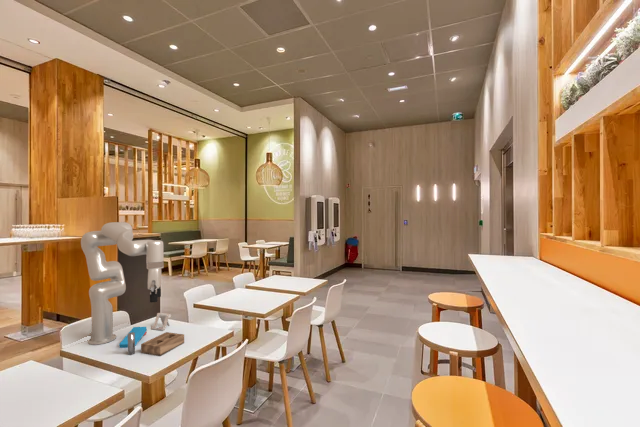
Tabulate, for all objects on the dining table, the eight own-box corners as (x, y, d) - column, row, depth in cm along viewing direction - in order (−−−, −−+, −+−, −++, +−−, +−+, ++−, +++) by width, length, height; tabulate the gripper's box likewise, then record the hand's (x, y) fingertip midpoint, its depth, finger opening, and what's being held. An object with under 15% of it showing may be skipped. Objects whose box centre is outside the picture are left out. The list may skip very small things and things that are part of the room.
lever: (134, 355, 161) (151, 333, 178) (132, 344, 159) (149, 322, 176) (121, 355, 160) (138, 333, 177) (119, 344, 158) (137, 323, 176)
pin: (126, 354, 151) (126, 334, 151) (131, 352, 154) (131, 332, 154) (131, 355, 150) (130, 335, 150) (136, 352, 153) (136, 332, 153)
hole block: (141, 353, 153) (141, 343, 153) (166, 340, 168) (166, 332, 168) (160, 356, 149) (160, 346, 149) (184, 342, 164) (184, 334, 164)
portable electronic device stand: (150, 329, 184) (150, 315, 184) (161, 325, 191) (160, 311, 191) (162, 331, 181) (162, 317, 181) (172, 326, 189) (172, 312, 189)
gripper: (150, 263, 161) (150, 295, 161) (142, 268, 144) (143, 305, 144) (166, 262, 163) (166, 294, 163) (160, 267, 147) (161, 303, 147)
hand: (155, 299), depth 154 cm, fingers open, 9 cm apart
